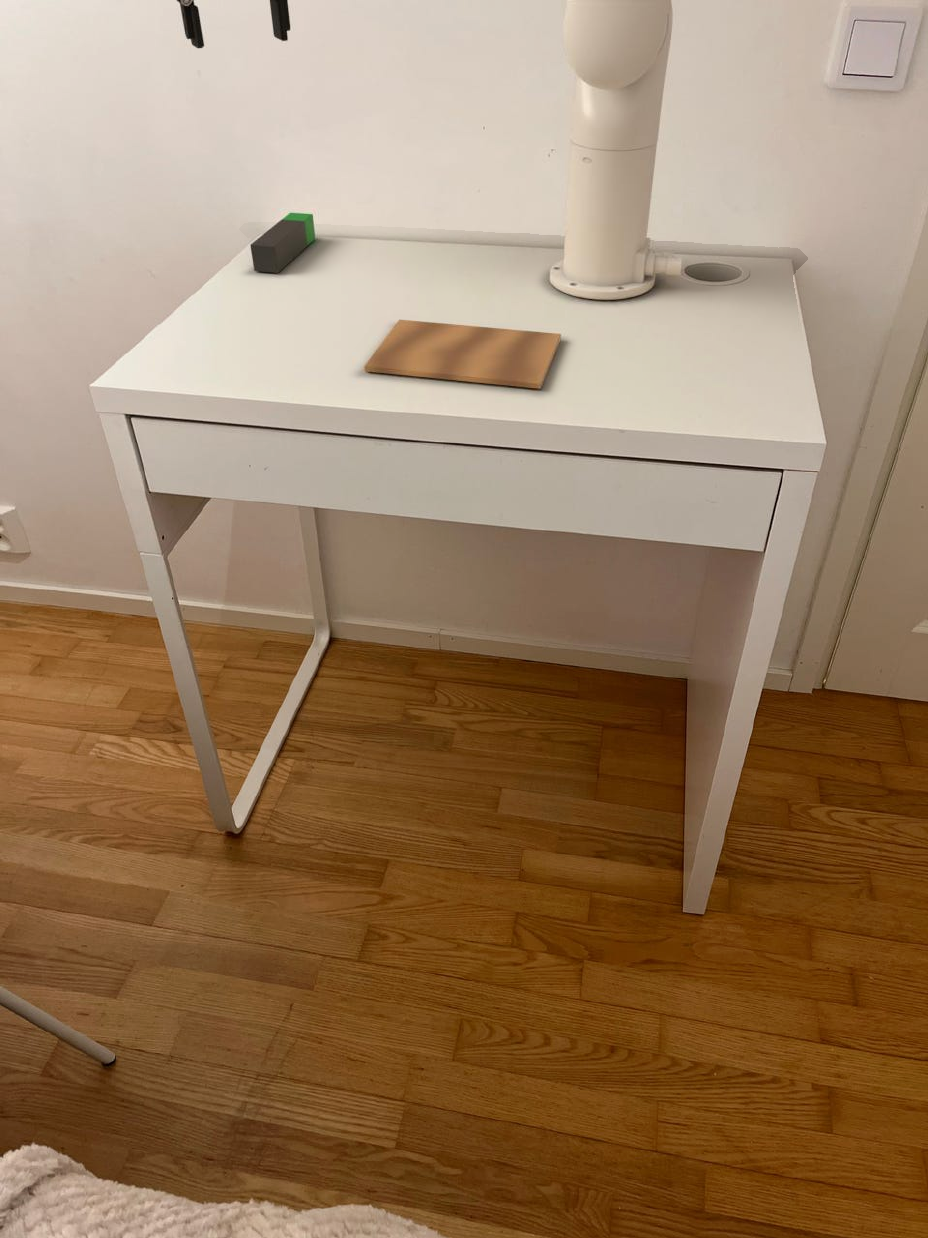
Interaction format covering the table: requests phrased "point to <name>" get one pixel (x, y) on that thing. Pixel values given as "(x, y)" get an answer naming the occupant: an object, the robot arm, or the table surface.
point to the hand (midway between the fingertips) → (240, 42)
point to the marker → (282, 242)
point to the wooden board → (466, 353)
